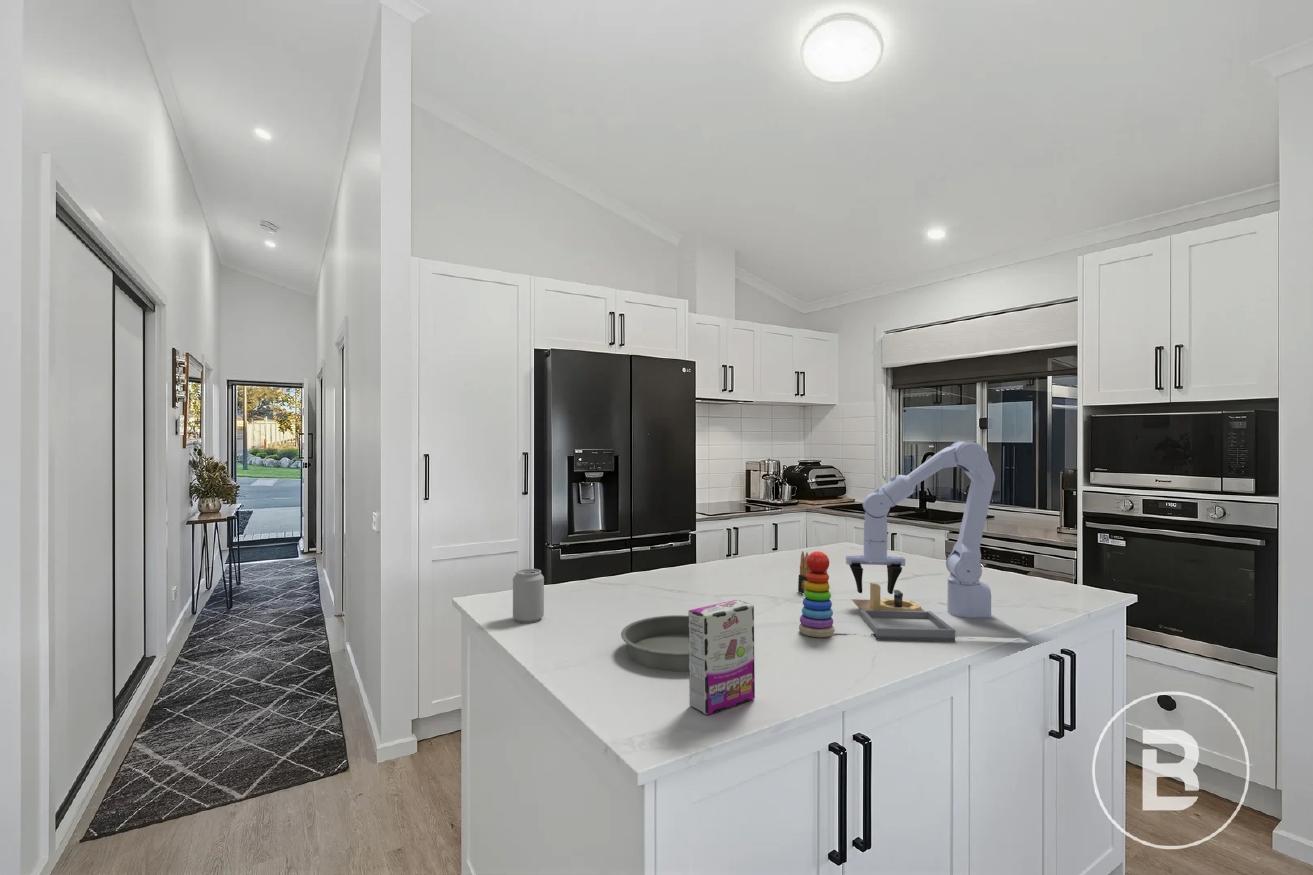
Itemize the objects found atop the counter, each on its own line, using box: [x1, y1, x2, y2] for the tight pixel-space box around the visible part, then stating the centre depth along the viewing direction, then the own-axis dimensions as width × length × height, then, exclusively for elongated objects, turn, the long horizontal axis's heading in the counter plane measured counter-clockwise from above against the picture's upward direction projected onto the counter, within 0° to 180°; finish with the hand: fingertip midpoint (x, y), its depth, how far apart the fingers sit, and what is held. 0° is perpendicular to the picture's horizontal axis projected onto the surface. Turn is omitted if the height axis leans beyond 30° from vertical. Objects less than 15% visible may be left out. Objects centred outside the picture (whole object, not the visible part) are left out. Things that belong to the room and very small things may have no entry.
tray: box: [859, 609, 956, 643], centre depth 147 cm, size 17×15×2 cm
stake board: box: [851, 599, 925, 611], centre depth 163 cm, size 16×14×1 cm
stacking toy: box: [798, 551, 836, 638], centre depth 144 cm, size 8×8×19 cm
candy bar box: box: [688, 599, 756, 716], centre depth 107 cm, size 11×5×16 cm, turn 126°
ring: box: [869, 582, 922, 611], centre depth 162 cm, size 12×10×6 cm
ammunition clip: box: [797, 550, 830, 594], centre depth 178 cm, size 11×2×12 cm, turn 28°
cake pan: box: [620, 614, 689, 672], centre depth 132 cm, size 25×25×4 cm
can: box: [512, 568, 545, 624], centre depth 155 cm, size 8×8×12 cm
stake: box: [893, 589, 904, 607], centre depth 162 cm, size 2×4×4 cm, turn 176°
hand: (874, 592), depth 162 cm, fingers open, 7 cm apart
